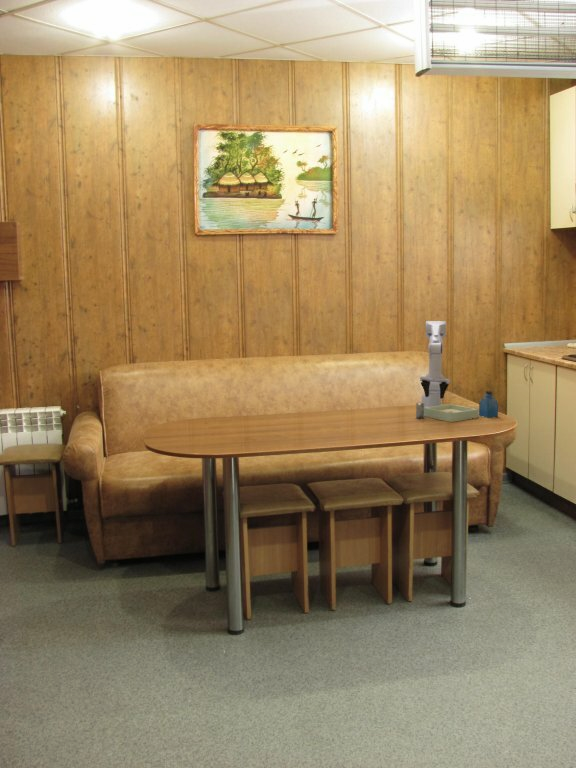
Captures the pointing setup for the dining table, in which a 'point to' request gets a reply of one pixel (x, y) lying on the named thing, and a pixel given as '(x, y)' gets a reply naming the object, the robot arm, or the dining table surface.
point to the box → (450, 412)
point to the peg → (420, 410)
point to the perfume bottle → (488, 406)
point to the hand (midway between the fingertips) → (434, 397)
